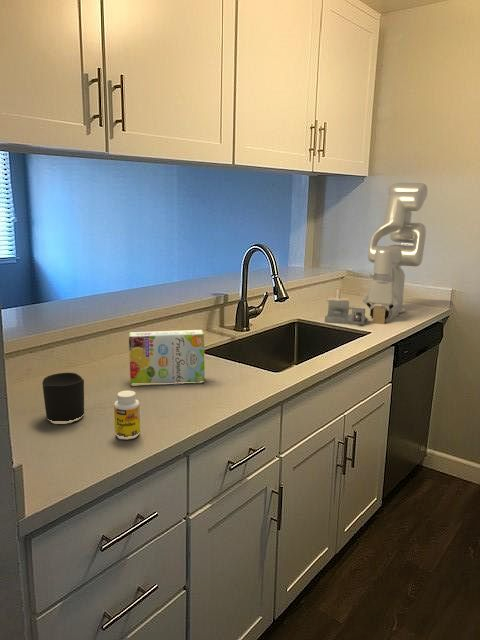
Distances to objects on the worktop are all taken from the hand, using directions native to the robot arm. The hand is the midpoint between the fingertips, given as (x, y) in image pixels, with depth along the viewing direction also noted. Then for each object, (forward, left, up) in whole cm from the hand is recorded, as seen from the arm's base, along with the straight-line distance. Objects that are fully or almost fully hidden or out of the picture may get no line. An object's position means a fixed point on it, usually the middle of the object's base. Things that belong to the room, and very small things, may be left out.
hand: (378, 317), depth 232 cm
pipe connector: (-18, -20, -2) cm, 27 cm away
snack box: (+100, -56, -2) cm, 115 cm away
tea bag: (-14, +5, -2) cm, 15 cm away
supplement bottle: (+135, -50, -2) cm, 144 cm away
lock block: (0, 0, -2) cm, 2 cm away
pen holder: (+131, -69, -2) cm, 148 cm away
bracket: (+3, -14, -2) cm, 15 cm away
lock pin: (+6, -8, 0) cm, 10 cm away
